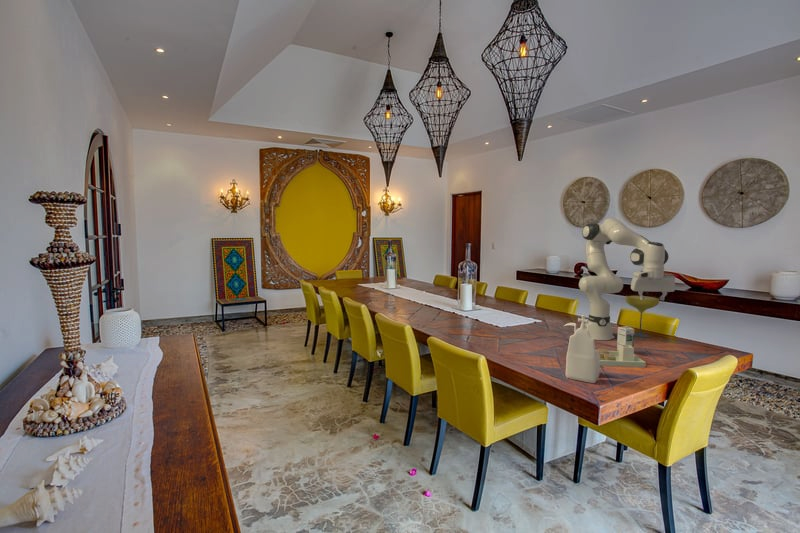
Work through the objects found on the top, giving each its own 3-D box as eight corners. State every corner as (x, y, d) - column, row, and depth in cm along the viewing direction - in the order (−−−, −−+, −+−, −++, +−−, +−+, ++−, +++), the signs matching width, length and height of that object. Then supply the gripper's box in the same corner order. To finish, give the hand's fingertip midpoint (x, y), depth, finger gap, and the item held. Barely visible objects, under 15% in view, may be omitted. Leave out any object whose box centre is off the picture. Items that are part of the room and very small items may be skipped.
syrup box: (625, 355, 215) (626, 329, 213) (616, 352, 220) (617, 326, 219) (633, 354, 216) (635, 328, 215) (624, 351, 222) (626, 325, 220)
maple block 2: (594, 358, 206) (594, 351, 205) (602, 358, 205) (603, 351, 205) (597, 361, 202) (597, 353, 202) (605, 361, 201) (606, 353, 201)
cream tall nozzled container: (600, 376, 186) (604, 312, 183) (596, 385, 175) (599, 317, 172) (562, 368, 196) (564, 308, 193) (555, 376, 185) (557, 312, 182)
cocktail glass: (627, 338, 248) (629, 298, 245) (621, 330, 265) (623, 293, 262) (660, 340, 242) (663, 300, 240) (652, 333, 259) (654, 295, 257)
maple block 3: (604, 361, 201) (604, 354, 201) (612, 362, 201) (612, 354, 200) (607, 364, 197) (607, 356, 197) (615, 364, 197) (616, 356, 196)
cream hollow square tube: (618, 359, 204) (619, 344, 203) (628, 360, 203) (629, 344, 203) (622, 363, 199) (623, 347, 198) (633, 363, 198) (634, 347, 198)
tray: (586, 356, 213) (586, 350, 212) (629, 358, 210) (630, 351, 210) (597, 367, 196) (598, 360, 196) (645, 369, 193) (645, 362, 193)
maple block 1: (597, 356, 210) (597, 348, 210) (605, 356, 209) (605, 348, 209) (600, 358, 206) (600, 351, 206) (608, 358, 205) (608, 351, 205)
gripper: (671, 273, 208) (670, 299, 209) (630, 272, 210) (628, 298, 211) (678, 274, 201) (677, 301, 203) (635, 274, 204) (634, 300, 205)
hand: (652, 299), depth 207 cm, fingers open, 8 cm apart
